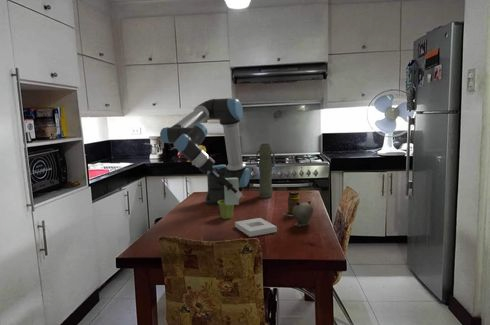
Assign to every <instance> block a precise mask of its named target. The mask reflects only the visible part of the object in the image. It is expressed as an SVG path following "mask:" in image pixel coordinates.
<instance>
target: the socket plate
mask: <svg viewBox="0 0 490 325" xmlns="http://www.w3.org/2000/svg"><path fill="white" fill-rule="evenodd" d="M234 226H235V228H236V229H237V230H239V231H241V232H243V234H245V235H247V236H248V237H251V238H252V237H256V236H261V235H267V234H271V233H277V232H278V227H277V225H274V224H272V223H271V222H269V221H268V220H265V219H263V218H261V217H258V218H251V219H245V220H239V221H235V222H234Z"/></svg>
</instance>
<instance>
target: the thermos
mask: <svg viewBox="0 0 490 325" xmlns="http://www.w3.org/2000/svg"><path fill="white" fill-rule="evenodd" d="M255 154H256V157H255V158H256V159H255V160H256V164H255V165H256V168H258V171H259V187H258V197H259V198H261V199H271V198H273V186H272V184H273V183H272V180H273V178H272V171H273V168H274V167H275V155H276V154H275V152H274V151H273V150H272V147H271V144H269V143H261V144H260V146H259V150H257V151H256V153H255ZM258 154H259V156H258ZM258 159H259V160H258Z"/></svg>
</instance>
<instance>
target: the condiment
mask: <svg viewBox="0 0 490 325" xmlns="http://www.w3.org/2000/svg"><path fill="white" fill-rule="evenodd" d="M287 199H288V200H287V209H288V210H287V211H286V212H282V214H283V215H286V216H289V217H294V216H293V208H294V207H295V206H296V203H297V202H298V203H300V194H299V192H298V191H295V190H293V191H292V190H290V191H289V192H288V197H287Z"/></svg>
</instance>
